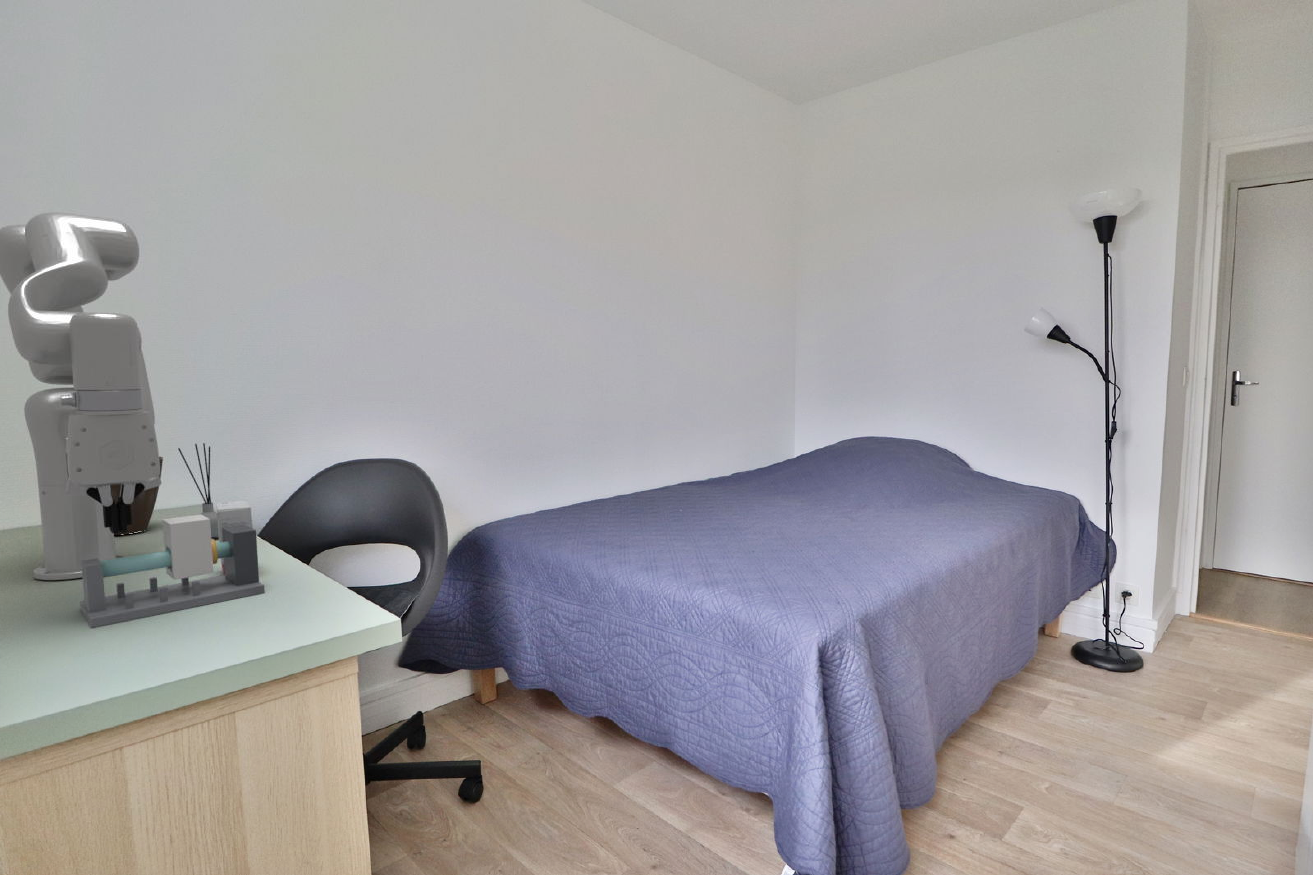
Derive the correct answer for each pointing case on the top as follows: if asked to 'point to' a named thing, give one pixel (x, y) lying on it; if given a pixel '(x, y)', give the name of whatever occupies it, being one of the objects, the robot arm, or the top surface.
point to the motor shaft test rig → (187, 594)
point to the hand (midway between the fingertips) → (118, 530)
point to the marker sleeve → (188, 546)
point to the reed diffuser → (206, 506)
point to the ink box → (233, 517)
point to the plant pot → (139, 506)
